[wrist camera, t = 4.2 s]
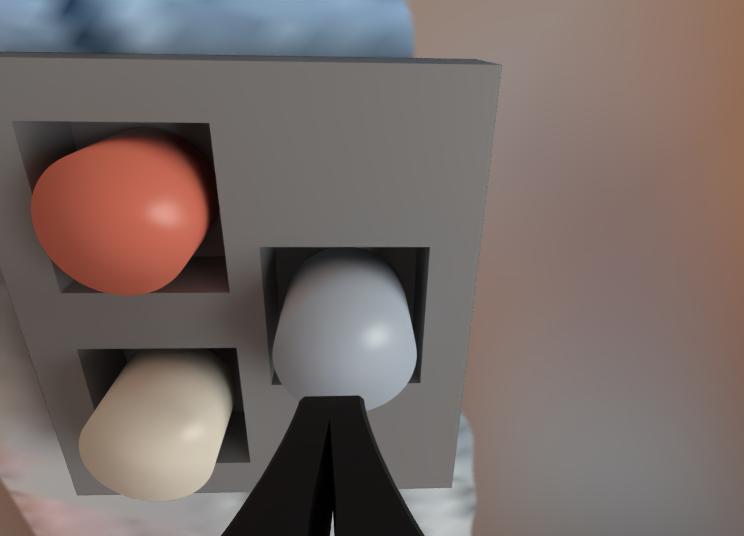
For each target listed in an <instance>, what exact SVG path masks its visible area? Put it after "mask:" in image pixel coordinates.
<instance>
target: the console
mask: <svg viewBox="0 0 744 536" xmlns="http://www.w3.org/2000/svg"><path fill="white" fill-rule="evenodd" d="M501 70H502V65H500V64H495V63H491V62H485V61H481V60H477V59H431V58H429V59H428V58H369V57H306V56H242V55H179V54H116V53H53V52H0V269H1V272H2V275H3V278H4V280H5V283H6V286H7V289H8V292H9V295H10V298H11V301H12V304H13V307H14V310H15V313H16V316H17V319H18V322H19V325H20V328H21V331H22V334H23V337H24V340H25V343H26V346H27V348H28V351H29V354H30V357H31V360H32V363H33V366H34V369H35V372H36V375H37V378H38V381H39V384H40V387H41V390H42V393H43V396H44V399H45V402H46V405H47V408H48V411H49V414H50V417H51V419H52V422H53V425H54V428H55V431H56V434H57V437H58V440H59V443H60V446H61V449H62V452H63V455H64V458H65V461H66V464H67V467H68V470H69V473H70V476H71V479H72V482H73V485H74V487H75V490H76V493H77V495H121V494H119V493H117V492H115V491H113V490H111V489H109V488H107V487H106V486H104V485H103V484H101V483H100V482H99V481H97V480H96V479H95V478H94V477H93V476H92V475H91V474H90V472H89V471H88V470H87V469H86V467H85V465H84V464H83V462H82V459H81V457H80V453H79V437H80V434H81V431H82V429H83V428H84V426H85V424H86V423H87V421H88V420H89V418H90V417H91V416H92V414H93V413H94V411H95V410H96V408H97V407H98V405H99V404H100V402H101V401H102V399H103V398H104V396H105V395H106V393H107V392H108V390H109V389H110V387H111V386H112V385H113V383H114V382H115V380H116V379H117V377H118V376H119V374H120V373H121V371H122V370H123V368H124V367H125V365H126V364H127V362H128V361H129V359H130V358H131V357H132V356H133V355H134V354H135V353H136V352H137V351H139V350H140V349H152V348H206V349H208V350H210V351H211V352H213V353H214V354H216V355H217V356H218V357H220V358H221V359H222V360H223V361H224V362H225V363H226V365H227V366H228V367H229V369H230V370H231V372H232V374H233V376H234V379H235V382H236V387H237V394H236V399H235V403H234V406H233V409H232V412H231V415H230V419H229V422H228V425H227V428H226V431H225V434H224V438H223V441H222V444H221V447H220V450H219V454H218V457H217V460H216V463H215V466H214V469H213V472H212V474H211V476H210V478H209V479H208V481H207V482H206V483H205V484H204V485H203V486H202V487H201V488H200V489H198V490H197V491H196V492H194V493H221V492H252V490H253V489H254V487H255V486H256V484H257V483H258V481H259V480H260V478H261V476H262V475H263V473H264V471H265V470H266V468H267V466H268V465H269V463H270V461H271V459H272V457H273V456H274V454H275V452H276V450H277V449H278V447H279V445H280V443H281V441H282V439H283V437H284V435H285V433H286V431H287V429H288V427H289V425H290V423H291V421H292V419H293V416H294V414H295V412H296V409H297V407H298V404H299V400H298V399H296V398H295V397H294V396H292V395H291V394H290V393H289V392H288V391H287V390H286V389H285V387H284V386H283V385H282V383H281V382H280V380H279V378H278V376H277V374H276V371H275V368H274V364H273V345H274V340H275V336H276V332H277V328H278V324H279V320H280V316H281V312H282V308H283V304H284V300H285V296H286V292H287V288H288V285H289V282H290V280H291V278H292V276H293V274H294V273H295V271H296V270H297V268H298V267H299V266H300V265H301V264H302V263H303V262H304V261H306V260H307V259H308V258H310V257H311V256H313V255H315V254H317V253H319V252H321V251H324V250H327V249H331V248H336V247H355V248H361V249H364V250H367V251H370V252H373V253H375V254H377V255H379V256H380V257H382V258H383V259H385V260H386V261H387V262H388V263H389V264H390V265H391V266H392V267H393V268H394V269H395V270H396V272H397V273H398V275H399V277H400V279H401V281H402V283H403V286H404V290H405V295H406V300H407V305H408V309H409V314H410V319H411V324H412V329H413V333H414V338H415V343H416V349H417V359H416V365H415V368H414V372H413V374H412V376H411V378H410V380H409V382H408V383H407V385H406V386H405V387H404V388H403V390H402V391H401V392H400V393H399V394H398V395H396V396H395V397H394V398H393V399H391V400H390V401H388V402H387V403H385V404H383V405H381V406H379V407H377V408H374V409H372V410H368V411H366V413H367V416H368V420H369V423H370V426H371V429H372V432H373V435H374V437H375V440H376V443H377V445H378V448H379V450H380V452H381V455H382V457H383V459H384V461H385V463H386V466H387V468H388V470H389V472H390V474H391V476H392V479H393V481H394V483H395V485H396V487H397V488H398V489H415V488H452V481H453V473H454V464H455V456H456V447H457V439H458V431H459V422H460V414H461V405H462V397H463V389H464V380H465V372H466V363H467V355H468V347H469V338H470V330H471V321H472V313H473V305H474V296H475V288H476V280H477V271H478V263H479V255H480V246H481V238H482V229H483V221H484V213H485V204H486V195H487V188H488V179H489V170H490V162H491V153H492V146H493V137H494V129H495V121H496V112H497V103H498V95H499V87H500V79H501ZM134 128H156V129H161V130H165V131H168V132H171V133H173V134H175V135H177V136H180V137H181V138H183V139H185V140H186V141H188V142H189V143H190V144H192V145H193V146H194V147H196V148H197V149H198V150H199V151H200V152H201V153H202V154H203V156H204V157H205V158H206V159H207V161H208V162H209V164H210V165H211V167H212V169H213V171H214V173H215V175H216V182H217V191H218V199H219V207H220V210H219V214H218V217H217V219H216V222H215V224H214V225H213V227H212V229H211V230H210V231H209V233H208V234H207V236H206V237H205V238H204V240H203V241H202V243H201V244H200V245H199V247H198V248H197V250H196V251H195V252H194V254H193V255H192V257H191V258H190V260H189V261H188V262H187V264H186V265H185V267H184V268H183V269H182V271H181V272H180V273H179V274H178V276H177V277H176V278H174V279H173V280H172V281H171V282H170V283H168V284H167V285H165V286H164V287H162V288H160V289H158V290H156V291H153V292H150V293H146V294H141V295H131V296H125V295H114V294H108V293H104V292H101V291H97V290H95V289H92V288H90V287H87V286H85V285H83V284H81V283H79V282H78V281H76V280H75V279H73V278H72V277H70V276H69V275H67V274H66V273H65V272H64V271H62V270H61V269H60V268H59V267H58V266H57V265H56V264H55V263H54V262H53V261H52V259H51V258H50V257H49V256H48V255H47V253H46V252H45V250H44V249H43V247H42V246H41V244H40V242H39V240H38V238H37V235H36V232H35V230H34V227H33V222H32V216H31V200H32V195H33V191H34V188H35V186H36V184H37V181H38V180H39V178H40V177H41V175H42V174H43V173H44V172H45V170H46V169H47V168H48V167H49V166H51V165H52V164H53V163H55V162H56V161H58V160H59V159H61V158H63V157H65V156H67V155H70V154H72V153H74V152H76V151H79V150H81V149H83V148H86V147H88V146H90V145H93V144H95V143H97V142H100V141H102V140H104V139H106V138H109V137H111V136H113V135H116V134H118V133H120V132H123V131H126V130H129V129H134Z"/></svg>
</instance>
